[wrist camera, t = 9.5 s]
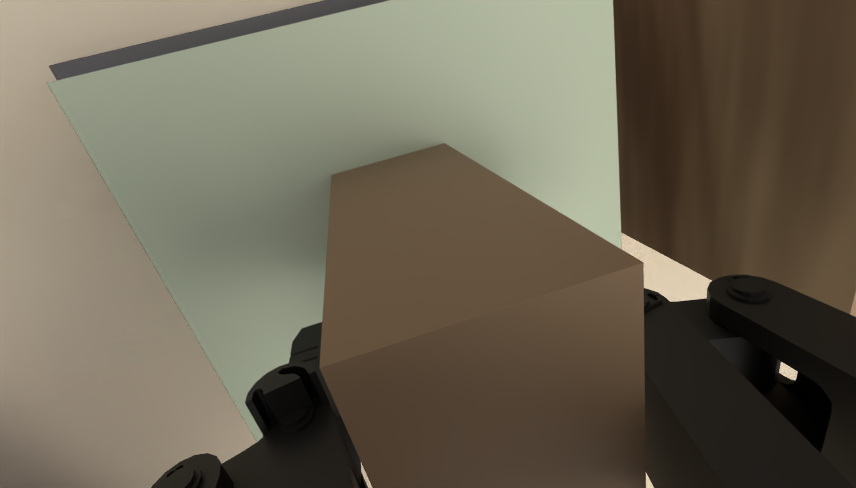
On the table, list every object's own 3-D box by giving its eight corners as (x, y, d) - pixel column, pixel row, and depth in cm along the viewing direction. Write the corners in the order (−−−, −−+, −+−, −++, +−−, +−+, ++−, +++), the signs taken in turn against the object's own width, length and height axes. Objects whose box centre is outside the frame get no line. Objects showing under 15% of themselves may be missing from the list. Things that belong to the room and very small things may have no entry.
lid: (275, 444, 19) (202, 875, 9) (72, 82, 12) (-1234, 104, 2) (609, 330, 20) (880, 581, 10) (589, -43, 14) (1288, -379, 4)
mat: (260, 422, 22) (258, 431, 21) (59, 66, 14) (48, 65, 14) (598, 308, 24) (604, 313, 23) (573, -56, 16) (582, -61, 16)
